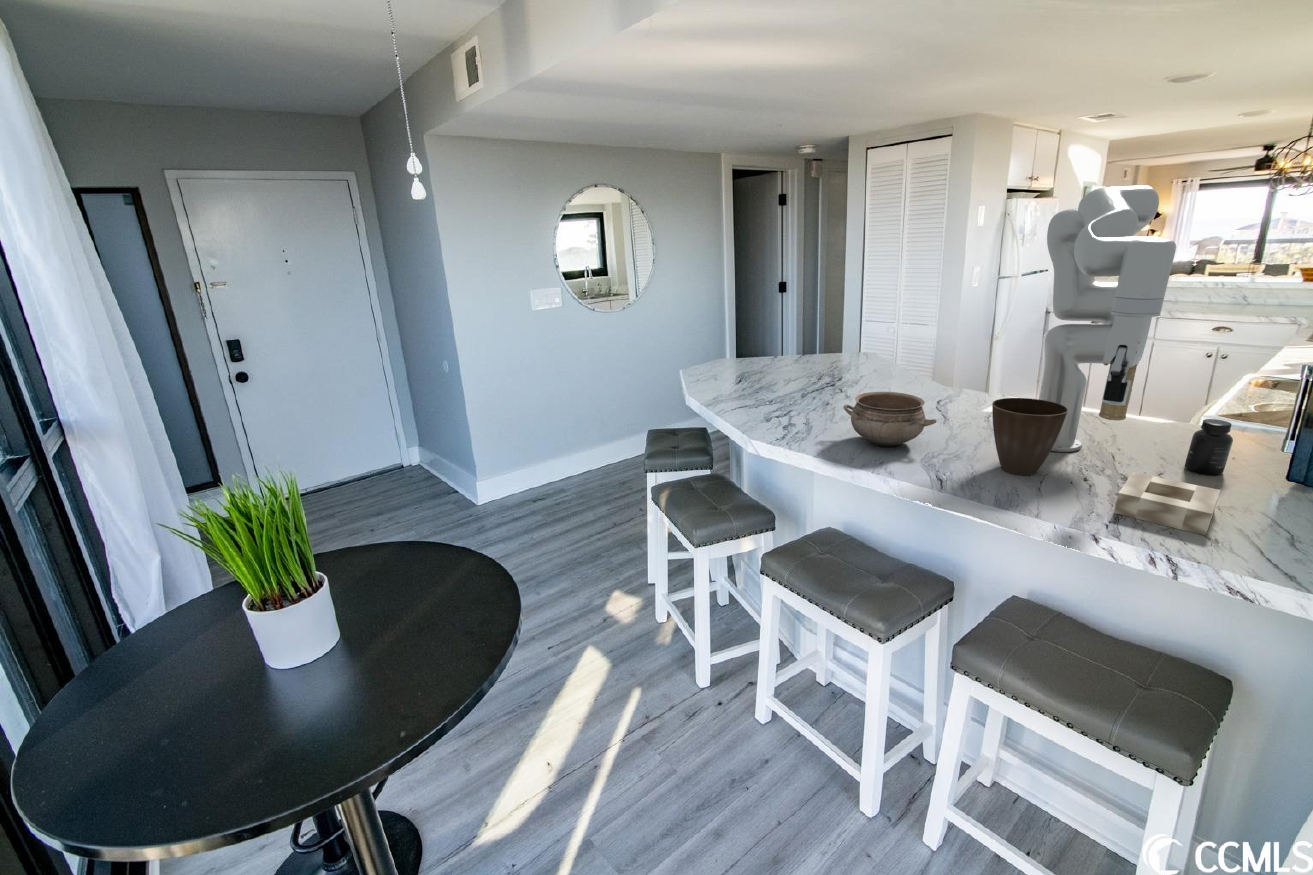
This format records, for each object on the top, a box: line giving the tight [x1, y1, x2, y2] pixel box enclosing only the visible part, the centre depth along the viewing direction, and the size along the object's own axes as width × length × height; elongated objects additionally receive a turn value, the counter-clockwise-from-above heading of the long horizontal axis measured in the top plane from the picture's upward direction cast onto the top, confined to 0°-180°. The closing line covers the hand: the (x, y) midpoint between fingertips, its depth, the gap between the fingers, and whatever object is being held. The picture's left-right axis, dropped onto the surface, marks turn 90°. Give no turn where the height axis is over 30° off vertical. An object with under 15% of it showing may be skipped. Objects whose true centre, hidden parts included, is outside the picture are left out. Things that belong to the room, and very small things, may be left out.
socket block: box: [1113, 471, 1221, 536], centre depth 119 cm, size 14×14×4 cm
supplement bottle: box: [1184, 418, 1234, 477], centre depth 136 cm, size 7×7×12 cm
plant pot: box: [991, 397, 1068, 476], centre depth 140 cm, size 15×15×16 cm
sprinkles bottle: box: [1098, 357, 1141, 421], centre depth 119 cm, size 5×5×13 cm
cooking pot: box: [843, 391, 938, 448], centre depth 161 cm, size 25×19×12 cm
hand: (1116, 397), depth 120 cm, fingers closed on sprinkles bottle, 4 cm apart
